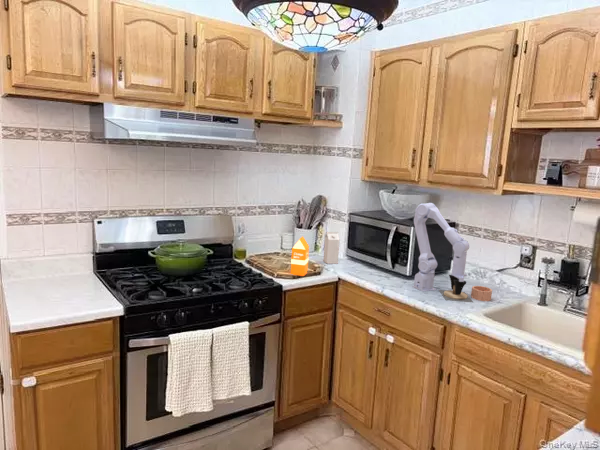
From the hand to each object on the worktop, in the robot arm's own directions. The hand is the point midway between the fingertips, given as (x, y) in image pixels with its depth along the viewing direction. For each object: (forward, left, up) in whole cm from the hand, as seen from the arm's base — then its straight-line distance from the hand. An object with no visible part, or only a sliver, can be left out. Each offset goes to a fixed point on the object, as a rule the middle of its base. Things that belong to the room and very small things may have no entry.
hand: (455, 291), depth 219 cm
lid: (0, 0, -2) cm, 2 cm away
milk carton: (-23, +76, -3) cm, 79 cm away
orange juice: (-53, +62, -3) cm, 82 cm away
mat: (0, 0, -2) cm, 2 cm away
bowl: (+10, -7, -2) cm, 12 cm away
